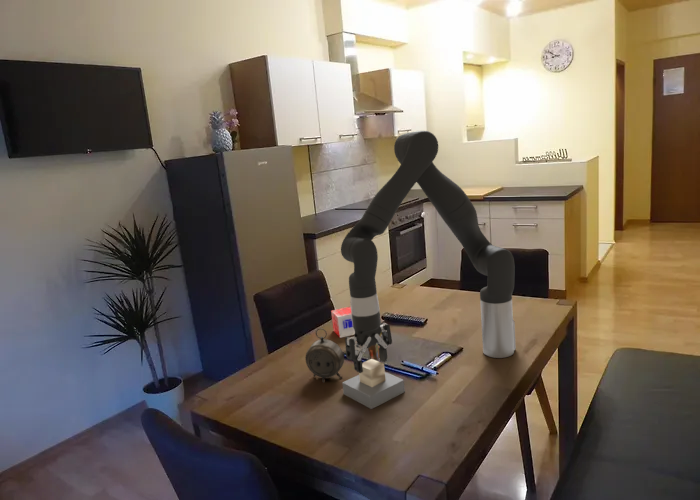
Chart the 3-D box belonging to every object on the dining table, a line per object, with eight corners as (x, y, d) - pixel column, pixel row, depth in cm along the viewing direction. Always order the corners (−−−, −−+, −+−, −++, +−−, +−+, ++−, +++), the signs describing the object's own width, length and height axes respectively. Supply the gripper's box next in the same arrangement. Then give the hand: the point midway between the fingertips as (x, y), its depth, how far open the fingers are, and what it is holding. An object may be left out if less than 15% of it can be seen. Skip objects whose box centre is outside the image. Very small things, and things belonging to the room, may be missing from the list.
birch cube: (373, 375, 147) (371, 358, 146) (385, 380, 143) (383, 363, 142) (360, 381, 144) (358, 365, 143) (372, 387, 140) (370, 370, 139)
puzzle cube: (353, 326, 195) (351, 306, 194) (360, 333, 188) (358, 312, 186) (333, 330, 193) (330, 310, 191) (339, 338, 186) (337, 317, 184)
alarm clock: (346, 376, 156) (340, 325, 152) (340, 385, 151) (334, 332, 147) (313, 374, 159) (306, 324, 156) (306, 382, 154) (299, 331, 151)
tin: (378, 367, 159) (376, 341, 157) (368, 367, 160) (365, 342, 158) (385, 347, 174) (383, 323, 172) (376, 347, 174) (373, 323, 172)
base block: (376, 380, 152) (375, 367, 152) (405, 393, 143) (403, 379, 142) (343, 395, 145) (342, 382, 145) (371, 410, 136) (370, 396, 135)
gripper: (353, 321, 132) (360, 380, 135) (394, 305, 140) (400, 361, 144) (335, 315, 138) (342, 371, 141) (376, 300, 146) (382, 353, 149)
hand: (371, 366), depth 142 cm, fingers open, 8 cm apart
